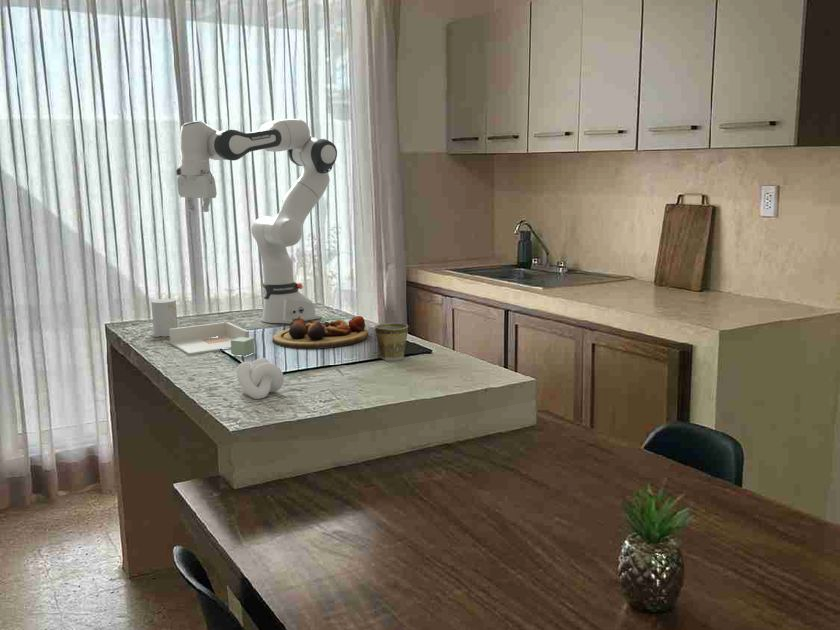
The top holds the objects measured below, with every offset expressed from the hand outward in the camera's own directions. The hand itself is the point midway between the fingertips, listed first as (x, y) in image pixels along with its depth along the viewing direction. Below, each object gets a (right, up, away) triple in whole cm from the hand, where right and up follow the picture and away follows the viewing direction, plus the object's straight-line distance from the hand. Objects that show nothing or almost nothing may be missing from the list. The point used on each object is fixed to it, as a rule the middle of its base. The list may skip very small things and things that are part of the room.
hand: (198, 211), depth 280 cm
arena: (+6, -45, -10) cm, 47 cm away
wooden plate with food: (+42, -44, -3) cm, 61 cm away
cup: (-14, -42, +8) cm, 45 cm away
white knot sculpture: (+35, -56, -69) cm, 95 cm away
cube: (+20, -48, -24) cm, 57 cm away
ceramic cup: (+67, -48, -31) cm, 89 cm away
